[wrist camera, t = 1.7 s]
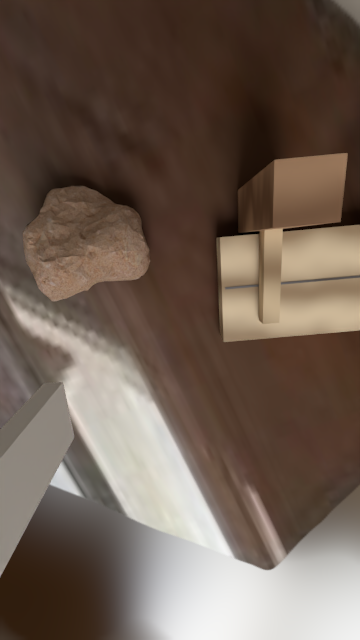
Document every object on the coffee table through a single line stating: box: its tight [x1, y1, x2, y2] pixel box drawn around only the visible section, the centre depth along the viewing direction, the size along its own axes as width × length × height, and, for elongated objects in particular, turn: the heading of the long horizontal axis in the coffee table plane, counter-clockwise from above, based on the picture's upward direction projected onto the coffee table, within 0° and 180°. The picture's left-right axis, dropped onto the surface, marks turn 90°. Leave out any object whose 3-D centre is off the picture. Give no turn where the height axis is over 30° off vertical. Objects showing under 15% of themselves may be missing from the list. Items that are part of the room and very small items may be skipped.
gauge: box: [238, 153, 348, 324], centre depth 24 cm, size 15×5×10 cm, turn 5°
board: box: [216, 225, 360, 342], centre depth 29 cm, size 12×24×3 cm, turn 95°
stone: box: [23, 186, 150, 301], centre depth 25 cm, size 12×9×10 cm
